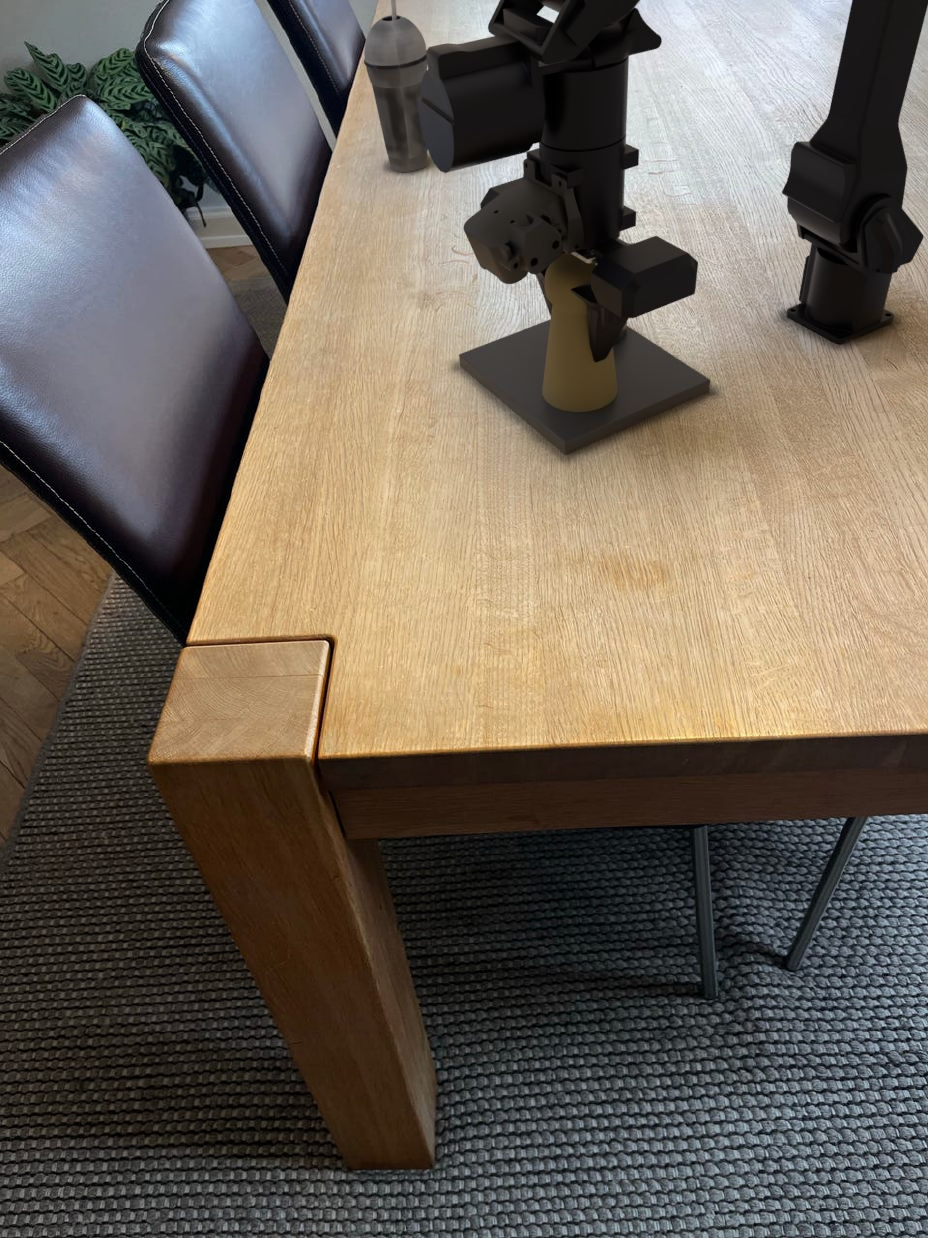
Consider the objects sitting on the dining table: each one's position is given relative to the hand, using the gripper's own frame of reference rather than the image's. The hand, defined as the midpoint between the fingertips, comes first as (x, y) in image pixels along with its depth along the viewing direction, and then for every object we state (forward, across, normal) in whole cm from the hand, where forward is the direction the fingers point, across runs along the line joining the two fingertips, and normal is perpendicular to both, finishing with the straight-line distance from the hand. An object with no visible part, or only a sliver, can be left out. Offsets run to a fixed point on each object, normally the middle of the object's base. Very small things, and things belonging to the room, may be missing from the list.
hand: (581, 347), depth 75 cm
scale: (+5, -3, +2) cm, 6 cm away
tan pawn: (+4, 0, 0) cm, 4 cm away
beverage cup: (+5, -54, +13) cm, 56 cm away
